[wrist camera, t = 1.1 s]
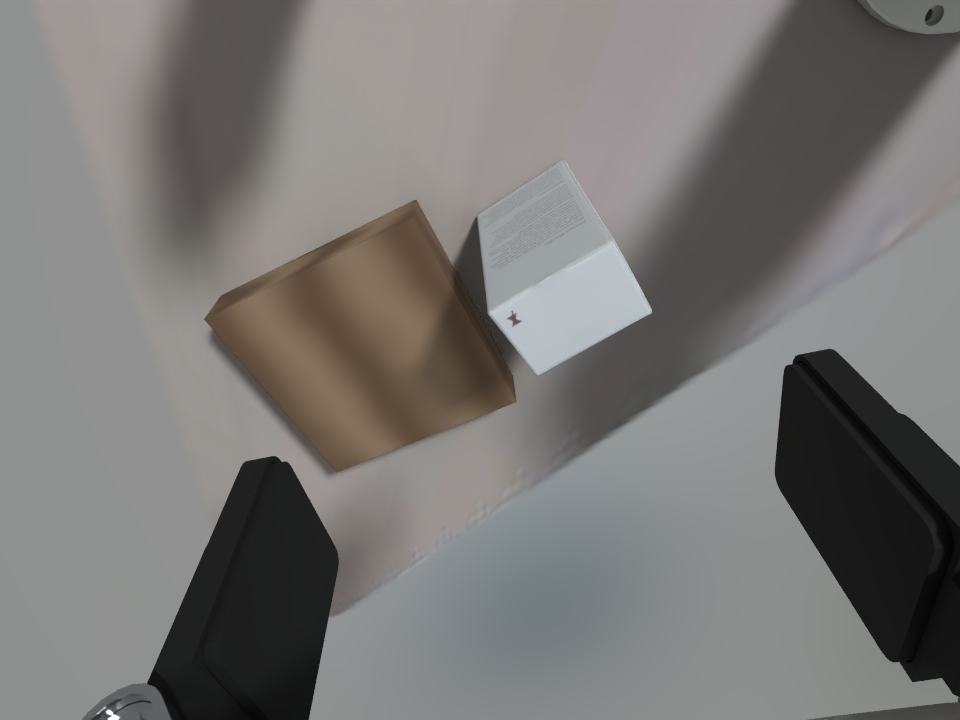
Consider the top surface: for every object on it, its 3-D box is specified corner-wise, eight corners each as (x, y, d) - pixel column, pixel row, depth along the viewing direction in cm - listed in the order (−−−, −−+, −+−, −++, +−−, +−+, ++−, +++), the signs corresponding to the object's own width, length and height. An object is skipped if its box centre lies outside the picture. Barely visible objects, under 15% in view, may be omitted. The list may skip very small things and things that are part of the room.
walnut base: (416, 199, 34) (412, 217, 31) (512, 375, 41) (516, 401, 39) (221, 295, 37) (204, 319, 34) (343, 443, 44) (336, 472, 42)
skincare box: (512, 268, 36) (533, 381, 27) (475, 214, 34) (482, 313, 24) (599, 216, 35) (656, 315, 25) (565, 155, 33) (612, 236, 23)
